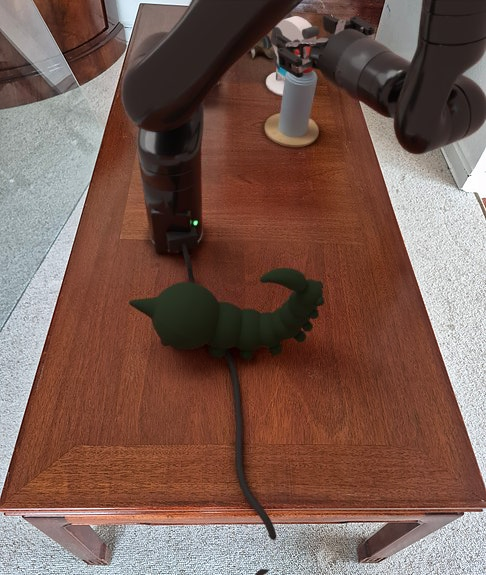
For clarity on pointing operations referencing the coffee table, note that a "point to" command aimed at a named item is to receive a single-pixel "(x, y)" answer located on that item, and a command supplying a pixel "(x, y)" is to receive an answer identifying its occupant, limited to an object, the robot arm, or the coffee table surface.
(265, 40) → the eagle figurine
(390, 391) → the coffee table surface
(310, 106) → the bottle
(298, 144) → the coaster
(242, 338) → the toy figurine
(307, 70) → the bottle cap
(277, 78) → the panda figurine
